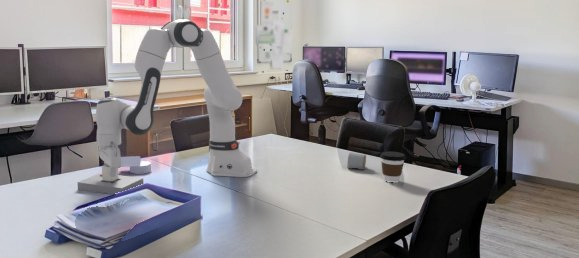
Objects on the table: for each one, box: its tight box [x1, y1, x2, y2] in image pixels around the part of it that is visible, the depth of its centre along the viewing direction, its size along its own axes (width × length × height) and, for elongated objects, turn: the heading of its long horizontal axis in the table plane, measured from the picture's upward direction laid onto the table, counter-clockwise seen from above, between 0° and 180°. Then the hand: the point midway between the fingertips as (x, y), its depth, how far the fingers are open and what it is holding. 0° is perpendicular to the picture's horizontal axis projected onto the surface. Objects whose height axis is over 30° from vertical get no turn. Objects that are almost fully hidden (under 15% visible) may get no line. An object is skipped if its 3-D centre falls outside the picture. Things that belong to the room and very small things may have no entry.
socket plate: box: [77, 172, 144, 195], centre depth 195 cm, size 20×14×4 cm
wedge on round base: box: [120, 155, 152, 175], centre depth 219 cm, size 9×7×13 cm
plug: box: [101, 164, 119, 183], centre depth 195 cm, size 4×4×8 cm
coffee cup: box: [379, 151, 407, 182], centre depth 213 cm, size 11×11×12 cm
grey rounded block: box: [346, 151, 367, 170], centre depth 234 cm, size 11×8×8 cm
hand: (110, 174), depth 195 cm, fingers closed on plug, 6 cm apart
